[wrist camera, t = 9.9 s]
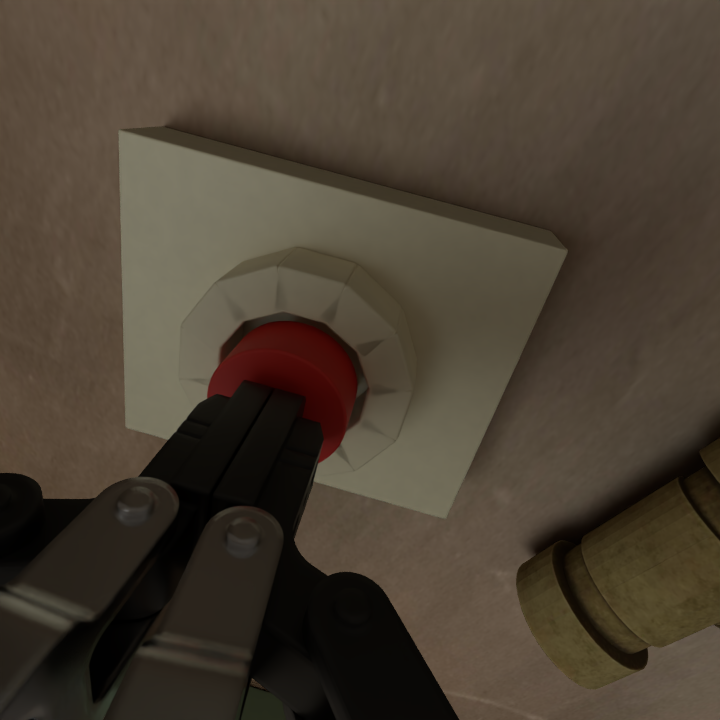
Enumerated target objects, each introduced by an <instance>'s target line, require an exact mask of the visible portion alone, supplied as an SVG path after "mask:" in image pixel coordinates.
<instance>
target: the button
mask: <svg viewBox="0 0 720 720" xmlns="http://www.w3.org/2000/svg"><path fill="white" fill-rule="evenodd" d="M244 380H249V381H252V382H256V383H259V384H263V385H266V386H270V387H273V388H275V389H276V388H277V389H281V390H285V391H288V392H292V393H295V394H299V395H302V396H306V402H305V407H304V412H303V417H302V418H306V419H309V420H313V421H316V422H320V424H321V428H322V432H323V437H324V441H323V445H322V449H321V453H320V457H319V461H318V463H320V462H322V461H323V460H325V459H326V458H328V457H329V456H330V455H331V454H333V453H334V452H335V451H336V449H337V448H338V447H339V446H340V444H341V442H342V440H343V438H344V435H345V433H346V429H347V426H348V423H349V419H350V416H351V413H352V409H353V406H354V403H355V399H356V395H357V376H356V372H355V368H354V366H353V364H352V361H351V359H350V358H349V356H348V354H347V353H346V352H345V350H344V349H343V348H342V346H341V345H340V344H339V343H338V342H337V341H336V340H335V339H333V338H332V337H331V336H330V335H328V334H327V333H325V332H323V331H322V330H320V329H318V328H316V327H314V326H311V325H308V324H305V323H300V322H295V321H276V322H270V323H267V324H263V325H261V326H259V327H257V328H255V329H253V330H252V331H250V332H249V333H248V334H247V335H246V336H244V337H243V339H242V340H241V341H240V342H239V343H238V344H237V345H236V347H235V348H234V349H233V350H232V351H231V352H230V354H229V355H228V356H227V357H226V358H225V359H224V360H223V362H222V363H221V364H220V365H219V366H218V368H217V369H216V370H215V371H214V373H213V375H212V377H211V379H210V382H209V385H208V391H207V399H208V398H209V397H211V396H213V395H215V394H220V395H224V396H227V397H232V395H233V394H234V392H235V391H236V390H237V388H238V387H239V386H240V384H241V383H242V382H243V381H244Z"/></svg>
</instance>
